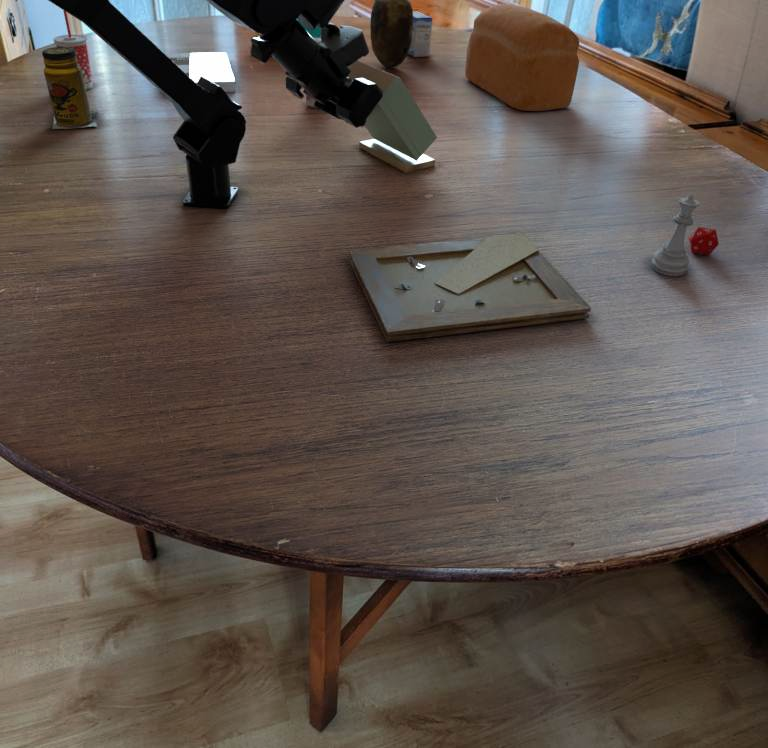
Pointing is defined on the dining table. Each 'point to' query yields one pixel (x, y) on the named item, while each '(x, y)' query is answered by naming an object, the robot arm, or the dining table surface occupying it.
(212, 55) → the book
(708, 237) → the die
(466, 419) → the dining table surface
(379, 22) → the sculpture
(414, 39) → the medicine box
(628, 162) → the dining table surface
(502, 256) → the picture frame
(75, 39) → the beverage cup
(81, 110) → the condiment
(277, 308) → the dining table surface
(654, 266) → the chess piece
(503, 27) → the bread
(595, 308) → the dining table surface
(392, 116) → the green rectangular box
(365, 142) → the shelf foot
